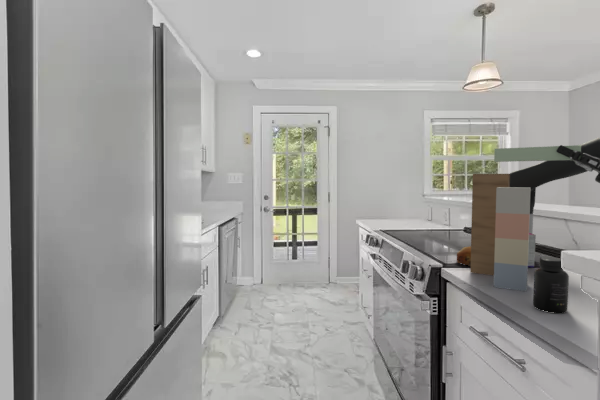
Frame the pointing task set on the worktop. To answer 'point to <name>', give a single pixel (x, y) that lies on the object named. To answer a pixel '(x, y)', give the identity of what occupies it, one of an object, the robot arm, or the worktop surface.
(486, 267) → the walnut stand
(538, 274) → the supplement bottle
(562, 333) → the worktop surface
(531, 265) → the supplement box
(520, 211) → the brick tower
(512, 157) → the long brick
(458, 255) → the bread roll
